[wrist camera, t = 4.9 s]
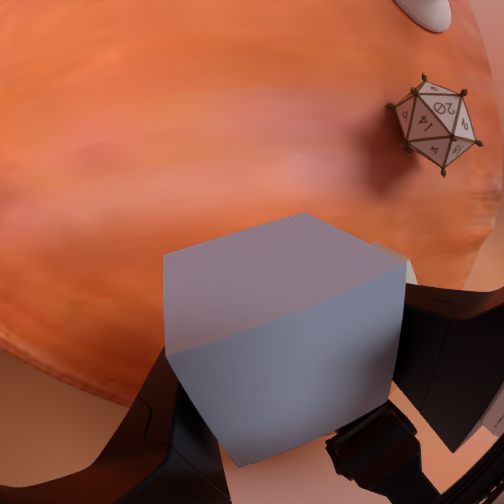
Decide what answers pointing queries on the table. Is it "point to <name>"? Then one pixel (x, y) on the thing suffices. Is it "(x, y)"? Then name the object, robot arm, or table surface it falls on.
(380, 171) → the table surface
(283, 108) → the table surface
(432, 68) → the table surface
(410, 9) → the candlestick
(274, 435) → the slate blue cube
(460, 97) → the game die
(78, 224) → the table surface
